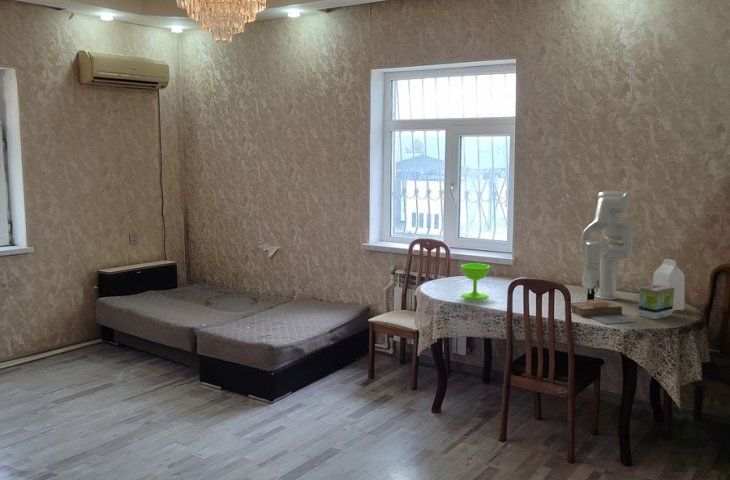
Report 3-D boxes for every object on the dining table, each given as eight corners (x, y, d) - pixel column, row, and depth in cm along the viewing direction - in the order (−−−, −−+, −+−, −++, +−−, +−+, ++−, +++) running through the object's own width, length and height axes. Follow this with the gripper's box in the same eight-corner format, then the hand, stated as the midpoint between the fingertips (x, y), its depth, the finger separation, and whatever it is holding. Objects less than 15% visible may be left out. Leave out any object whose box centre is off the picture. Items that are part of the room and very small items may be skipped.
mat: (589, 317, 333) (589, 316, 333) (617, 315, 337) (617, 314, 337) (605, 324, 320) (605, 323, 319) (635, 322, 323) (635, 321, 323)
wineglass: (493, 296, 379) (494, 265, 377) (482, 301, 366) (483, 269, 364) (467, 293, 388) (467, 262, 385) (455, 298, 374) (456, 266, 372)
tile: (586, 304, 342) (586, 300, 342) (601, 304, 344) (601, 299, 344) (592, 307, 336) (592, 302, 336) (608, 306, 338) (608, 301, 338)
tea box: (656, 320, 328) (658, 290, 326) (637, 316, 336) (639, 287, 334) (672, 315, 337) (674, 286, 334) (654, 311, 345) (655, 283, 342)
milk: (649, 306, 355) (652, 258, 351) (666, 304, 359) (669, 257, 355) (667, 312, 344) (670, 262, 340) (684, 310, 348) (687, 260, 344)
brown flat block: (568, 310, 347) (568, 303, 346) (605, 308, 352) (606, 300, 351) (582, 317, 333) (583, 309, 333) (621, 314, 338) (622, 306, 338)
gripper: (577, 263, 349) (576, 298, 352) (593, 268, 335) (592, 304, 338) (590, 263, 351) (589, 297, 354) (607, 268, 337) (605, 303, 339)
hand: (590, 300), depth 346 cm, fingers closed
